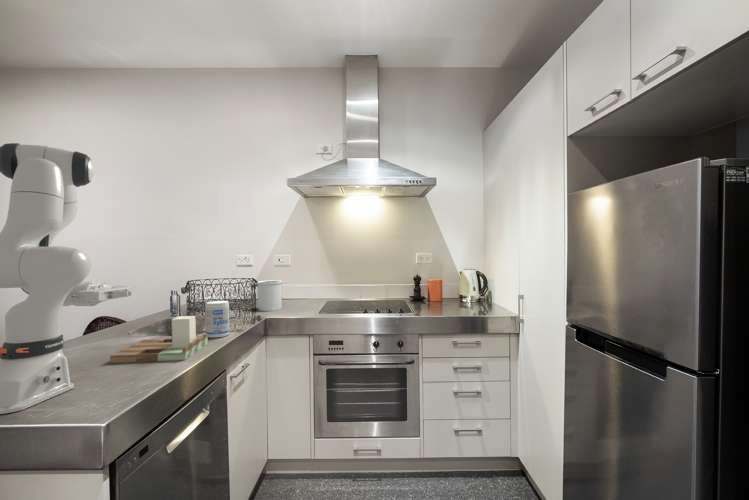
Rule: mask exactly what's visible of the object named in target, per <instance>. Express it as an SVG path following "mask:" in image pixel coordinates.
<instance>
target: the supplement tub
mask: <svg viewBox="0 0 749 500" xmlns="http://www.w3.org/2000/svg"><path fill="white" fill-rule="evenodd" d="M204 312H205V319H204V320H205V333H207V335H208V339H209V338H211V339H213V338H214V339H216V338H225V337H226V336H229V335H230V302H229V301H227V300H213V301H206V302H205V311H204Z"/></svg>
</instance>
